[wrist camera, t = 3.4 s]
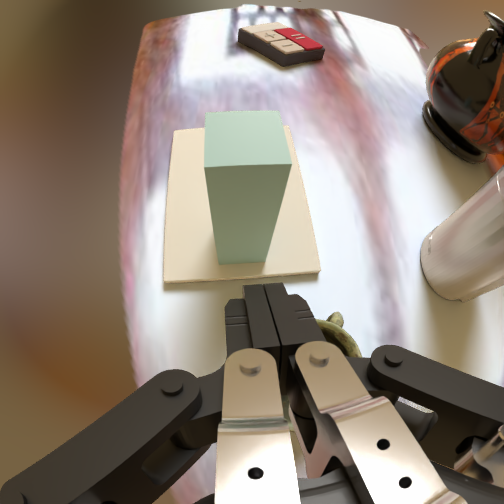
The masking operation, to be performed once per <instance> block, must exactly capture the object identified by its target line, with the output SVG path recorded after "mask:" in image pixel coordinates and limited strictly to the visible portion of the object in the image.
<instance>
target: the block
mask: <svg viewBox="0 0 504 504" xmlns="http://www.w3.org/2000/svg"><path fill="white" fill-rule="evenodd" d="M291 167H292V161H291V157H290V152H289V148H288V144H287V140H286V136H285V132H284V128H283V124H282V120H281V116H280V112H279V111H226V112H209V113H205V140H204V171H205V178H206V185H207V192H208V199H209V206H210V213H211V220H212V226H213V232H214V239H215V245H216V251H217V257H218V263H219V265H225V264H240V263H255V262H266V258H267V255H268V251H269V248H270V244H271V240H272V237H273V233H274V230H275V226H276V222H277V219H278V215H279V211H280V208H281V204H282V200H283V197H284V193H285V189H286V186H287V182H288V178H289V174H290V171H291Z"/></svg>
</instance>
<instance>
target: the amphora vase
mask: <svg viewBox="0 0 504 504" xmlns="http://www.w3.org/2000/svg"><path fill="white" fill-rule="evenodd" d="M483 13H484V15H485V16H486V17H487V19H488V21H489V22H490V27H489V28H488V29H486V30H485V31H484V32H483V33H482V34H481V35H480V37H479V38H473V39H465V40H458V41H455V42H452V43H450V44H449V45H447V46H445V47H444V48H443V49H442V50H440V51H439V52H438V53H437V55H436V56H435V57H434V59H433V60H432V61H431V64H430V66H429V68H428V70H427V74H426V88H427V93H428V96H429V99H430V100H428V101H426V102H425V103H424V105H423V108H422V110H423V115H424V118H425V120H426V122H427V124H428V125H429V127H430V128H431V130H432V131H433V133H434V134H435V135H436V136H437V137H438V138H439V140H440V141H441V142H442V143H443V144H444V145H445V146H447V147H448V148H449V149H450V150H451V151H452V152H454V153H455V154H456V155H458V156H459V157H461V158H462V159H464V160H466V161H468V162H471V163H477V164H480V163H482V162H484V161H485V159H486V157H487V154H494V155H496V154H503V153H504V21H503V20H502V19H500V18H499V17H497V16H496V15H494V14H493V13H492V12H490V11H488V10H484V11H483Z"/></svg>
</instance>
